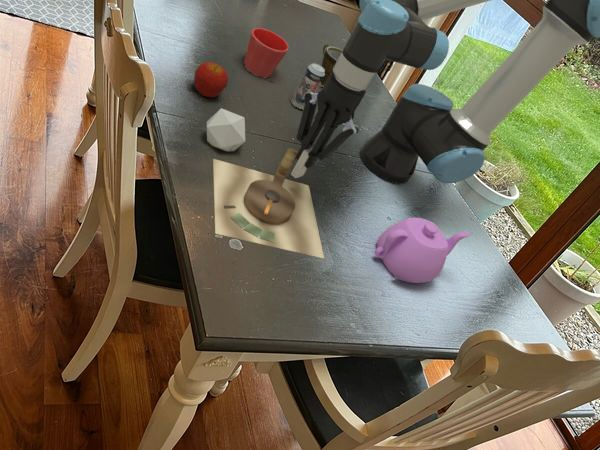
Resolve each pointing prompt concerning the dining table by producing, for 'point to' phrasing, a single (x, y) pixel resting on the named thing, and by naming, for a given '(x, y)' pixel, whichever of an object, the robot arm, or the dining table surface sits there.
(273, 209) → the dial
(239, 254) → the dining table surface
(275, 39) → the flower pot
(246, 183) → the board
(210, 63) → the apple
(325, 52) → the ceramic cup
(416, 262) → the teapot
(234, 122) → the die
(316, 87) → the beer can
